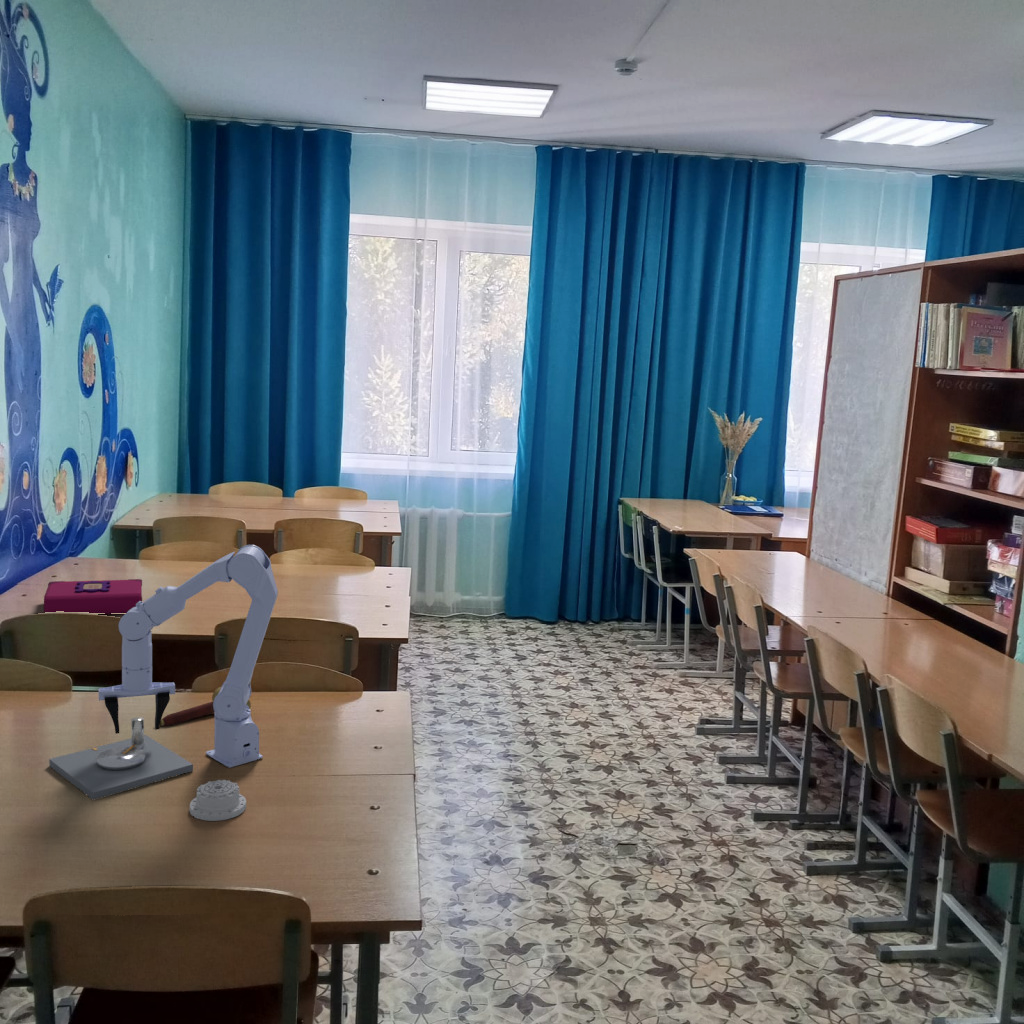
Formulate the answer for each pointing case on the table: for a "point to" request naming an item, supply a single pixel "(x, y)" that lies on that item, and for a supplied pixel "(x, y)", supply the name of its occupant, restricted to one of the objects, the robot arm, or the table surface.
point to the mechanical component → (217, 801)
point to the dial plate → (106, 782)
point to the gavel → (192, 712)
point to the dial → (126, 750)
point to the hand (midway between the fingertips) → (137, 729)
